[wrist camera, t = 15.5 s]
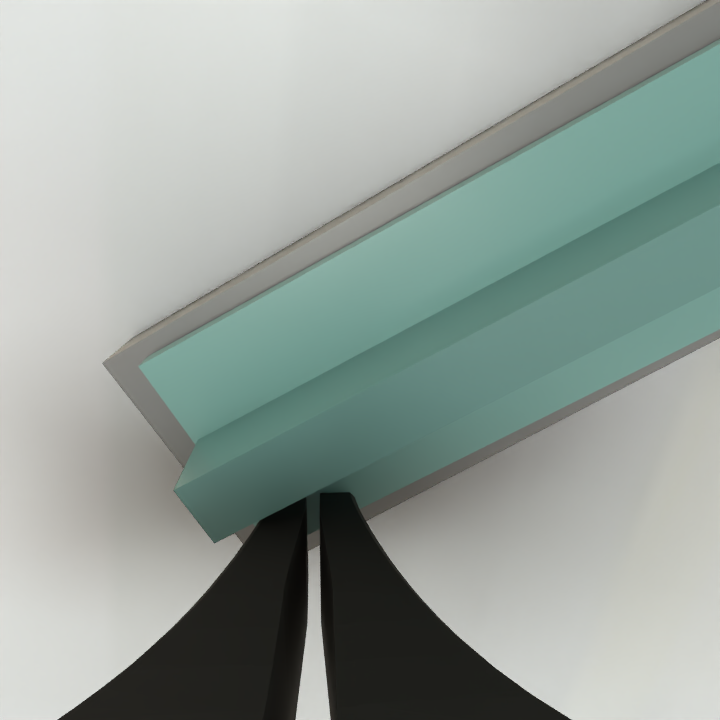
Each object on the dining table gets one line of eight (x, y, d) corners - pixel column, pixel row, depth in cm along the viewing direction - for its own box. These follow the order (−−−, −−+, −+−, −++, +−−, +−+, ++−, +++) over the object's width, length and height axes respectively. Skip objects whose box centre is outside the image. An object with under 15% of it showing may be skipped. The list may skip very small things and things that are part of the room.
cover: (972, -103, 9) (1198, -200, 7) (1000, 168, 10) (1195, 164, 8) (148, 355, 11) (99, 405, 8) (276, 532, 12) (264, 617, 10)
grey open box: (842, -80, 11) (941, -130, 9) (897, 196, 12) (988, 198, 11) (132, 337, 12) (101, 363, 11) (272, 525, 14) (265, 572, 13)
